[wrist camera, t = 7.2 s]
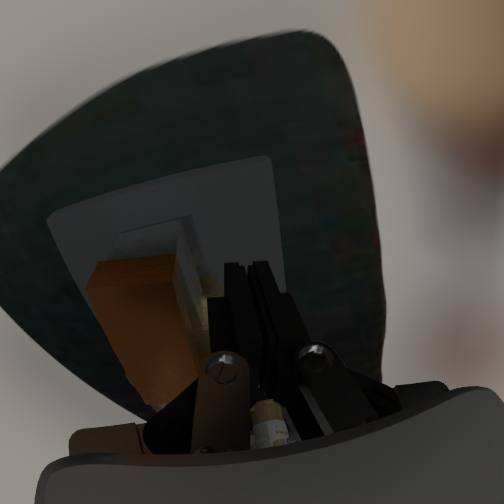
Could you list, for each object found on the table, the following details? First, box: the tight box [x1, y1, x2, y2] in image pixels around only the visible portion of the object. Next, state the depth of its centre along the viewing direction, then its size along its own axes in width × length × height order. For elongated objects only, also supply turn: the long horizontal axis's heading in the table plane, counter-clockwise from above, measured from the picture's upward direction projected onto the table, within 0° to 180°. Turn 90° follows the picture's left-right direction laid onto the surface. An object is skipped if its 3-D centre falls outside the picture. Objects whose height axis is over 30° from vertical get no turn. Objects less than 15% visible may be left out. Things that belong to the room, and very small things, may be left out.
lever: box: [85, 253, 201, 409], centre depth 11 cm, size 14×3×2 cm, turn 1°
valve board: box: [46, 155, 286, 388], centre depth 23 cm, size 24×16×2 cm, turn 9°
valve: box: [107, 215, 254, 413], centre depth 19 cm, size 20×7×9 cm, turn 9°
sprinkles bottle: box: [250, 399, 290, 449], centre depth 29 cm, size 5×5×14 cm
